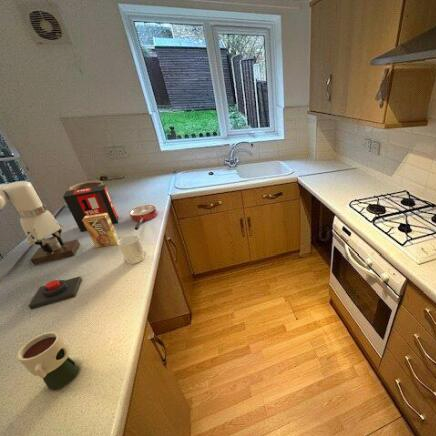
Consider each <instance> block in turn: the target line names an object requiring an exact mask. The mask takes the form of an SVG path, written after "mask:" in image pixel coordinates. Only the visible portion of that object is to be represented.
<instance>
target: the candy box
mask: <svg viewBox="0 0 436 436" xmlns="http://www.w3.org/2000/svg"><path fill="white" fill-rule="evenodd" d="M82 221H83V223H84V225H85V227H86V229H87V231H86V232H87V233H88V235H89V237H90V239H91V241H92V243H93V245H94V247H95V248H96V249H97V248H103V247H108V246H114V245H118V244H117V242H118V240H120V238H119V236H118V234H117V231H116V229H115V227H114V224H113V225H112V222H111V220H110V218H109V215H108V213H103V214H96V215H89V216H85V217H84V218H83V219H82Z"/></svg>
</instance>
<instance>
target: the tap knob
mask: <svg viewBox="0 0 436 436" xmlns="http://www.w3.org/2000/svg"><path fill="white" fill-rule="evenodd" d="M45 242H46V244H48V245H49V246H50V248H51V250H52V252H53V251H56V250H59V249H60V248H61V245H60V243H59V242H58V240H57V238H56V237H55V236H49V237H46V238H45Z"/></svg>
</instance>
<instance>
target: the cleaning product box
mask: <svg viewBox="0 0 436 436" xmlns="http://www.w3.org/2000/svg"><path fill="white" fill-rule="evenodd" d="M106 188H107V187H106V185H105V184H103V185H101V186H95V187H89V188H83V189H77V190H66V191H65V192H64V194H63V196H62V198H63V200H64V202H65V204H66V205H67V208H68V210H69V212H70V214H71V215H72V217H73V219H74V221H75V224H76V226H77V228H78V229H79V231H80V233H82V232H83V233H84V232H88V231H87V229H86V227H85V225H84V223H83V221H82V219H83V218H84V217H85V216H89V215H96V214H103V213H108V215H109V218H110V220H111V222H112V225H113V226H114V225H117V224H119V216H118V214H117V211H116V208H115V207H114V204H113V201H112V199H111V196H110V194H109V191H108V189H106ZM107 191H108V192H107Z"/></svg>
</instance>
